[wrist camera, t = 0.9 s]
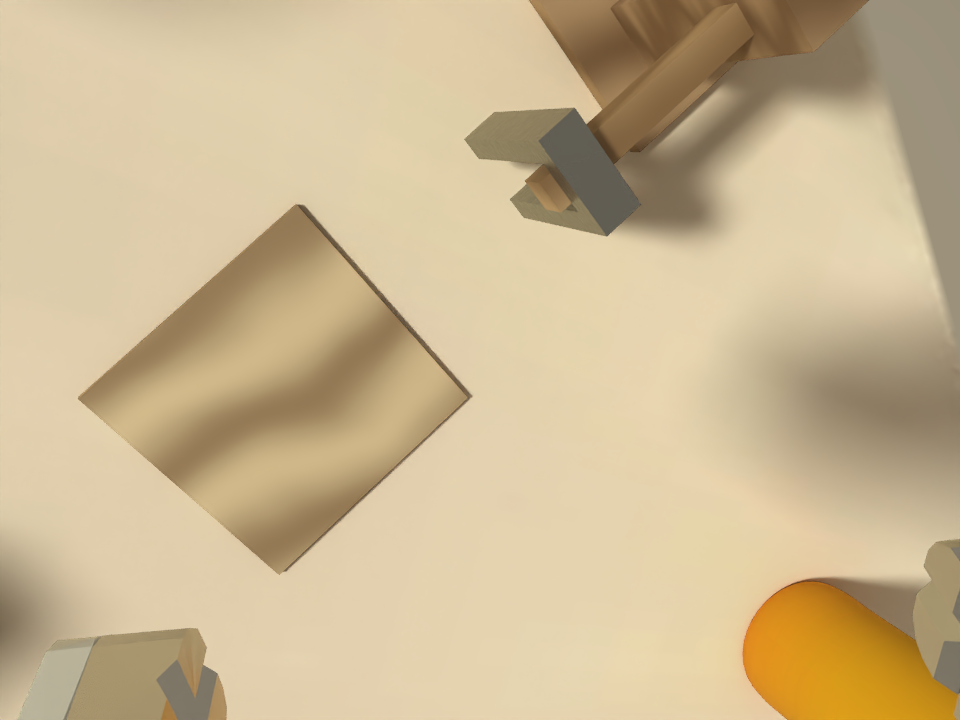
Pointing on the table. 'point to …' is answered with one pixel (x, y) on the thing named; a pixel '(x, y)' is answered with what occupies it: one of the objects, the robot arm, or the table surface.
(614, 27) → the stand
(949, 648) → the robot arm
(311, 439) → the mat
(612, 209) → the arch
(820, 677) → the beer bottle
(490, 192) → the table surface
